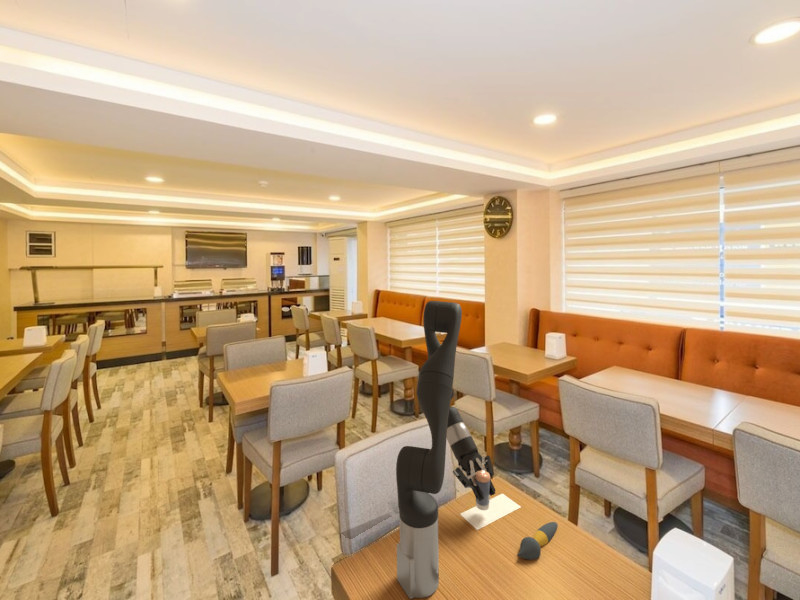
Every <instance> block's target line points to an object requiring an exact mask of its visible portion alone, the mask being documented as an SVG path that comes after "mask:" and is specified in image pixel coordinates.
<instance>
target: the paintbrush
mask: <svg viewBox="0 0 800 600" xmlns="http://www.w3.org/2000/svg"><path fill="white" fill-rule="evenodd" d="M557 530H558V523H557V522H555V521H550V522H547V523H545V524H544V525H542V526H540V527H539V528H538V529H537V530H536V531H535V533H534V535H533V537H531V536H525V537H523V538H522V539H521V542H520V548H519V549H520V551H519V553H517V555H516V556H518V557H521V558H523V559H525V560H529V561H532V560H537V559H539V557H541V551H542V549H541V547H544V546H545V545H547V544H548V543H550V541H551V540H552V539H553V538H554V536H555V535H556V532H557Z"/></svg>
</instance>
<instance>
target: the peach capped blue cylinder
mask: <svg viewBox="0 0 800 600" xmlns="http://www.w3.org/2000/svg"><path fill="white" fill-rule="evenodd" d="M475 474H476V481H477V486H479V488H480V490H481V492H482V494H483V496H484V499H483V500H481V501H479V500H477V499H476V498H475V506H476V507H477V508H478V509H480V510H488V509H489V502H490V499H491V497H490V474H489V473H488V472H486V471H482V470H481V471H477V472H476V473H475Z"/></svg>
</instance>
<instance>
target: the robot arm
mask: <svg viewBox="0 0 800 600" xmlns="http://www.w3.org/2000/svg"><path fill="white" fill-rule="evenodd" d="M461 306H462V305H460V304H459V303H457V302H454V301H453V302H452V301H440V300H429V301H427V302H426V303H425V306H424V308H423V309H424V310H423V319H422V320H423V321H422V322H423V330H424V338H425V345H426V351H427V358H428V359H426V361H425V362H424V363H423V365H422V366H421V368H420V370H419V372H418V373H419V374H418V380H417V385H416V392H415V393H416V397H417V400H418V403H419V405H420V408H421V410H422V412H423V415H424V416H425V419H426V422H427V424H428V427H429V431H430V434H431V435H430V436H431V448H425V447H419V446H411V445H405V446H403V447H402V448H401V449H400V450H399V453H398V455H397V456H396V457H397V458H396V467H395V468H396V469H395V475H396V488H397V489H396V490H397V492H396V493H397V507H398V509H399V512H398V514H399V542H398V543H396V581H397V582H398V583H399V585H400V586H401V588H402V589H403V591H404V593H405V594H406V595H407V597H408V598H409V600H413V599H414V598H415V599H416V598H417V599H418V598H420V599H422V598H428V597H430V596H431V595H433V594H434V593H435V592H436V591H437V589H438V587H439V581H440V580H439V579H440V577H439V576H440V574H439V573H440V570H439V568H440V567H439V566H440V565H439V560H440V559H439V557H440V556H439V505H438V502H437V500H436V499H435V497H434V496H432V495H431V494H433V495H437V494H439V493H440V492H441V489H442V487H443V484H444V479H445V471H446V470H445V468H446V454H447V453H446V451H447V442H448V444H449V447H450V448H451V451H452V453H453V456H454V458H455V460H457V463H458V466H457V467H455V469H453V471H452V474H454V475H455V478H457V479H458V481H459V482H460V483H461V485H462V486H463V487H464V488H465V489H467V488H469V489H471V491H472V492H473V494H474V496H475V500H476V499H477V500H479V501H481V500H483V499H484V496H483V494H482V492H481V490H480V488H479V486H477V481H476V472H477V471H486V472H488V473H489V474H490V496H493V495H495V494H496V488H495V486H494V484H493V482H492V478H493V476H495V473H494V468H493V464H492V460H491V456H490V455H486V456H482V454H480V453H479V451H478V449H479V448H478V445H476V442H475V440H474V439H473V437H472V435H471V432H470V430H469V428H468V427H467V425H466V424H465V422H464V420H463V418H462V416H461V414H460V412H459V410H458V408H456V407H455V406H451V402H452V400H453V398H454V395H455V393H454V392H455V391H454V389H453V387H454V379H455V378H454V377H455V362H456V353H457V347H458V342H459V335H460V330H461V324H462V317H463V313H462V312H463V309H462V307H461ZM436 333H444V334H446V335H445V337H444V339H443V341H442V343H440V341H439V339H438V337H437V335H436Z"/></svg>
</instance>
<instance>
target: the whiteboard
mask: <svg viewBox="0 0 800 600" xmlns="http://www.w3.org/2000/svg"><path fill="white" fill-rule="evenodd" d="M520 508H522V507H521V505H519V504H518V503H516V502H515V501H513V499H511V498H509V497H508V496H507V495H505V494H504V493H500V494H498V495H496V496H494V497H491V498H490V502H489V509H488V510H480V509H478V508H477V507H476V505H475V506H474V507H471V508H470V509H468V510H465V511H463V512H461V513H459V515H460V516H461V517H462V518H463V519H465V520H466V521H467V522H468V524H469V525H471V526H472V527H473V528H475V530H476V531H478V530H480V529H482V528H484V527H486V526H488V525H490V524H491V523H493V522H496V521H497V520H500V519H501V518H503V517H505V516H507V515H509V514H511V513H513V512H515V511H516V510H519V509H520Z"/></svg>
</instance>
